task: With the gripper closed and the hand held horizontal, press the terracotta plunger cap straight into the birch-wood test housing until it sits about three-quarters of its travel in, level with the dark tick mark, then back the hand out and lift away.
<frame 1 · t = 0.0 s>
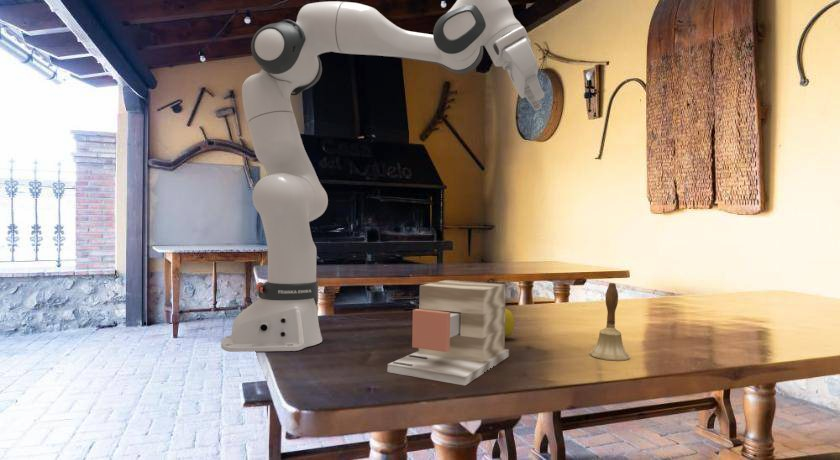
hand: (540, 103, 113), 54 cm above the table, tool tilted 30°, fingers open, 8 cm apart
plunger: (442, 325, 102), point 8 cm above the table, slide at 0.0 cm
lemon: (502, 340, 130), on the table
hand bell: (609, 357, 114), on the table
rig: (451, 364, 106), on the table
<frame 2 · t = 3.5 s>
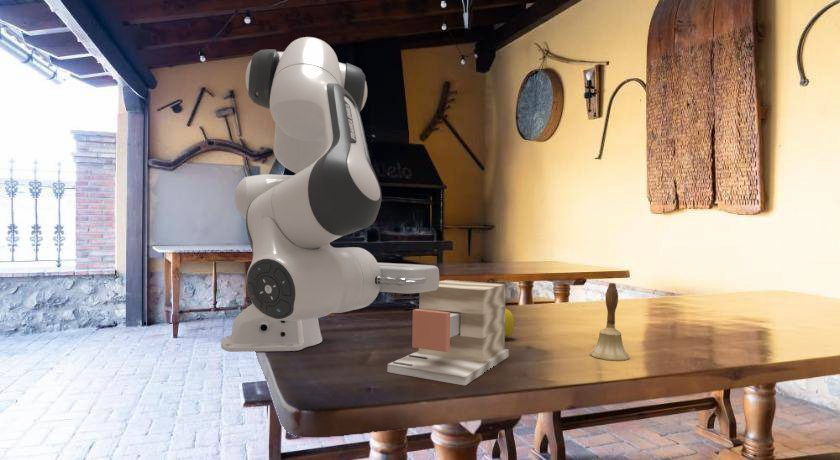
hand: (398, 272, 86), 20 cm above the table, tool horizontal, fingers open, 8 cm apart
nothing on the table moved.
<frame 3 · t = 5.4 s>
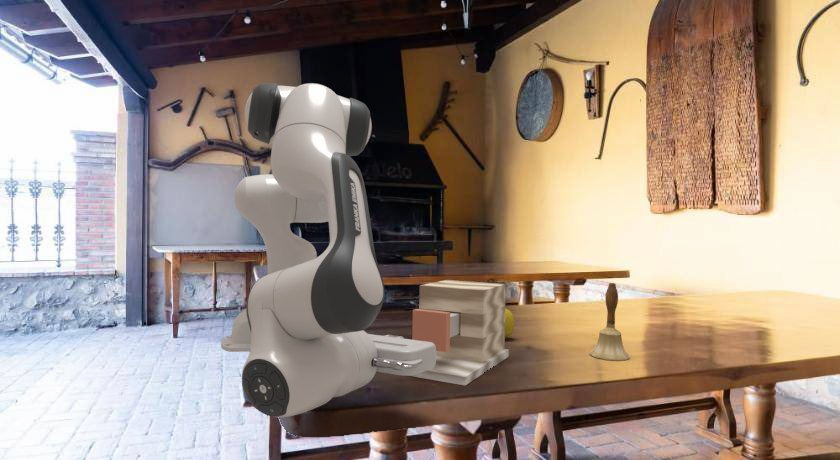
hand: (396, 340, 86), 9 cm above the table, tool horizontal, fingers closed
nothing on the table moved.
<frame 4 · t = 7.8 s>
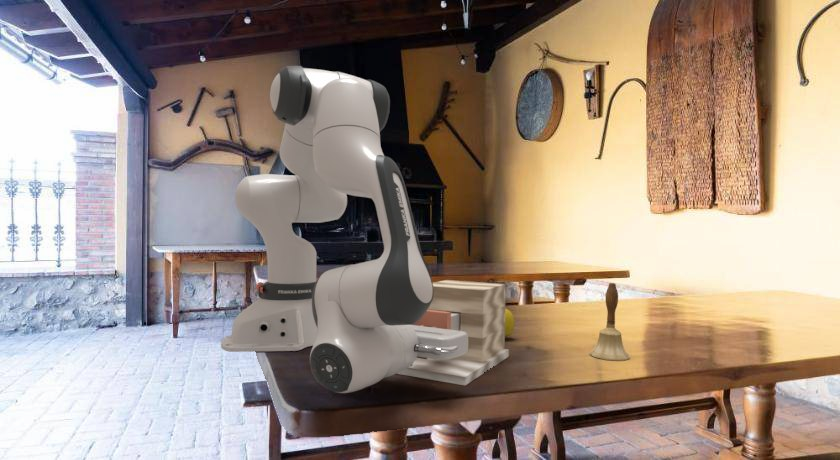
hand: (429, 330, 97), 8 cm above the table, tool horizontal, fingers closed, pressing on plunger
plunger: (443, 325, 102), point 8 cm above the table, slide at 0.4 cm, touching gripper
everything else where it was.
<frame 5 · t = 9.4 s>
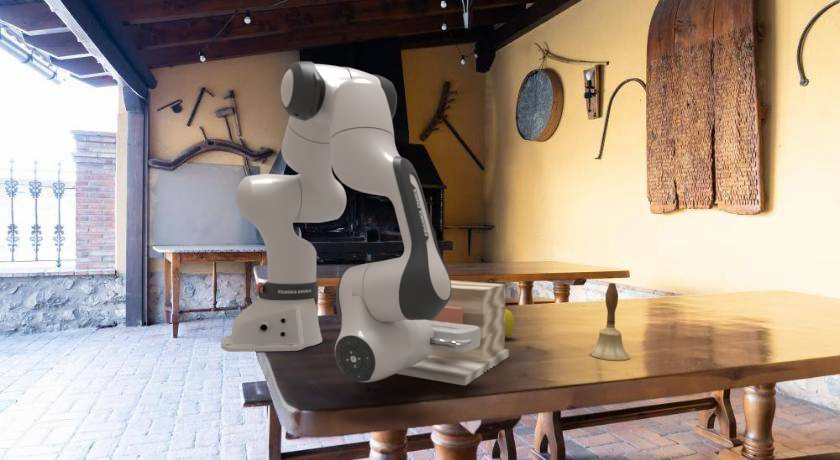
hand: (442, 325, 102), 8 cm above the table, tool horizontal, fingers closed, pressing on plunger
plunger: (455, 320, 107), point 8 cm above the table, slide at 6.0 cm, touching gripper
everything else where it was.
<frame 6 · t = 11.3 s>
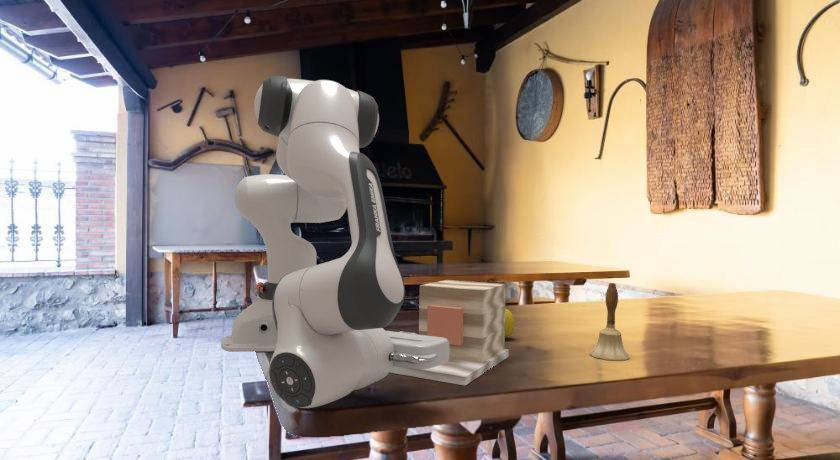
hand: (409, 336, 89), 9 cm above the table, tool horizontal, fingers closed
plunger: (455, 320, 107), point 8 cm above the table, slide at 6.1 cm
everything else where it was.
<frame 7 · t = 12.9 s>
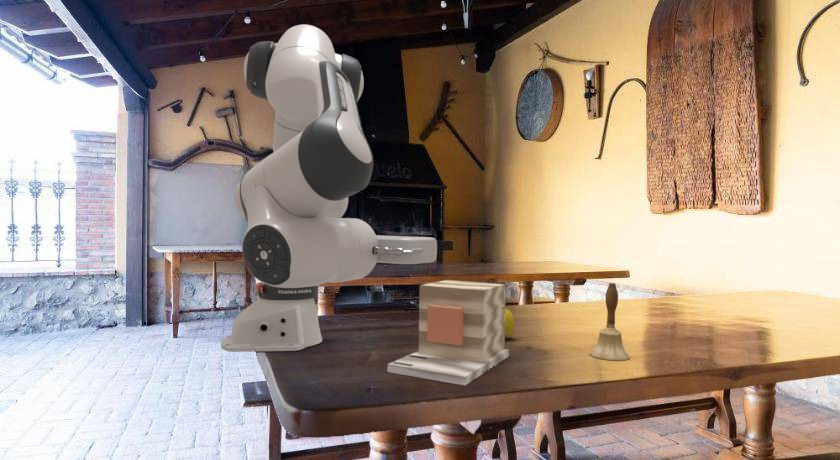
hand: (396, 246, 86), 24 cm above the table, tool horizontal, fingers closed
nothing on the table moved.
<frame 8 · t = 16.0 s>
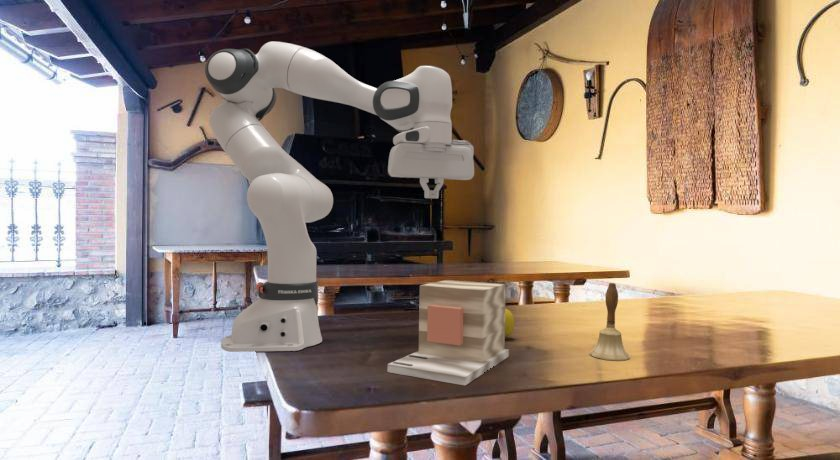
hand: (431, 198, 121), 34 cm above the table, tool pointing down, fingers closed
nothing on the table moved.
at the end: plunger slide at 6.1 cm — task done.
